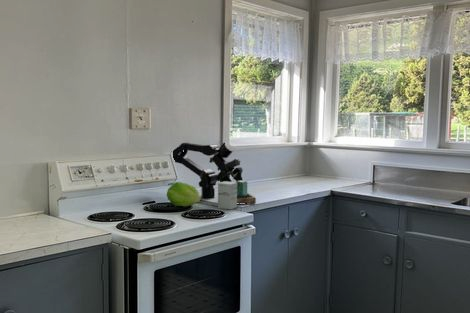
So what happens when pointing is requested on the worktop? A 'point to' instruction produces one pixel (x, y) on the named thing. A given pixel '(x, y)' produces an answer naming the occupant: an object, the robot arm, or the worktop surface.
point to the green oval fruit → (183, 194)
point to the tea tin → (241, 189)
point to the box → (247, 199)
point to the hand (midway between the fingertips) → (239, 186)
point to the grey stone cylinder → (227, 195)
